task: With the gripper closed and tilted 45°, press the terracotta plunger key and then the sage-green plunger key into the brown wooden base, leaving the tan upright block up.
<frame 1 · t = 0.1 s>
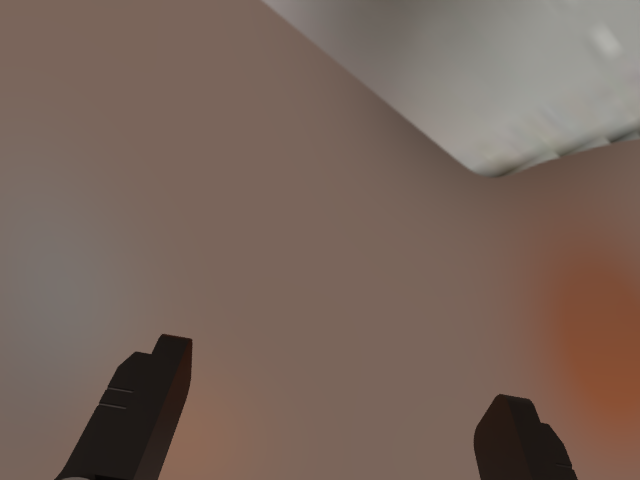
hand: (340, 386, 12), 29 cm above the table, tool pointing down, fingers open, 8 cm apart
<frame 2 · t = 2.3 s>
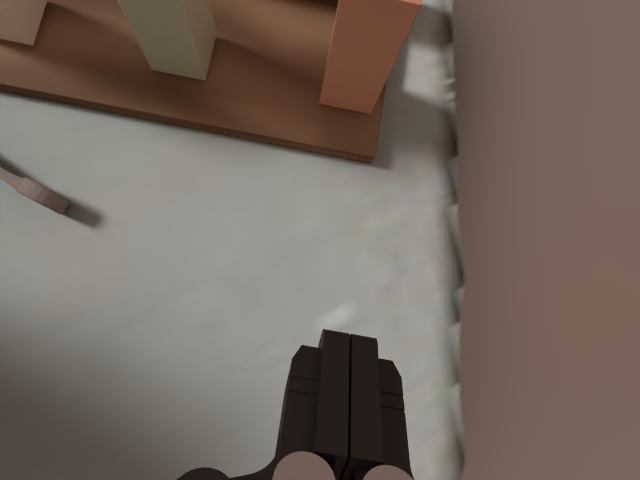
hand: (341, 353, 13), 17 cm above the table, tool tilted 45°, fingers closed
brown wooden base: (189, 64, 32), on the table
terracotta key: (364, 36, 26), point 7 cm above the table, slide at 0.0 cm
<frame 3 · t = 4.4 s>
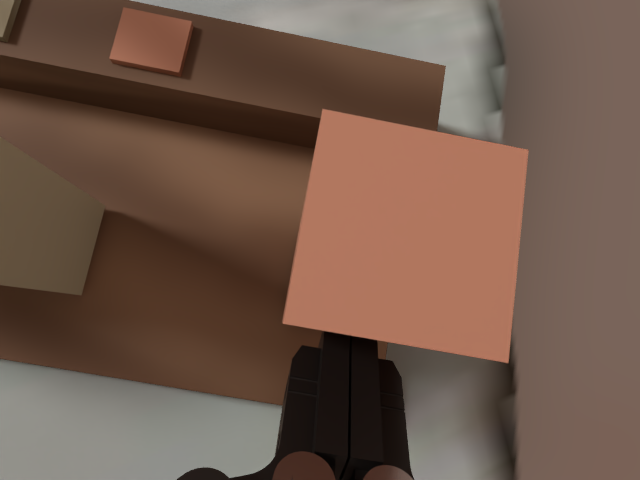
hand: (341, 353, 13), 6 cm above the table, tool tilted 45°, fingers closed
brown wooden base: (66, 247, 19), on the table
terracotta key: (356, 269, 13), point 7 cm above the table, slide at 0.3 cm, touching gripper
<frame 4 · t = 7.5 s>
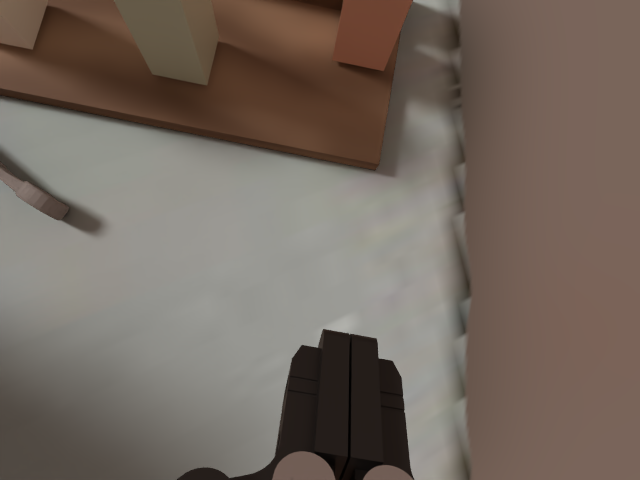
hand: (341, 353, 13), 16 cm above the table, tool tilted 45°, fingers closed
brown wooden base: (190, 68, 31), on the table
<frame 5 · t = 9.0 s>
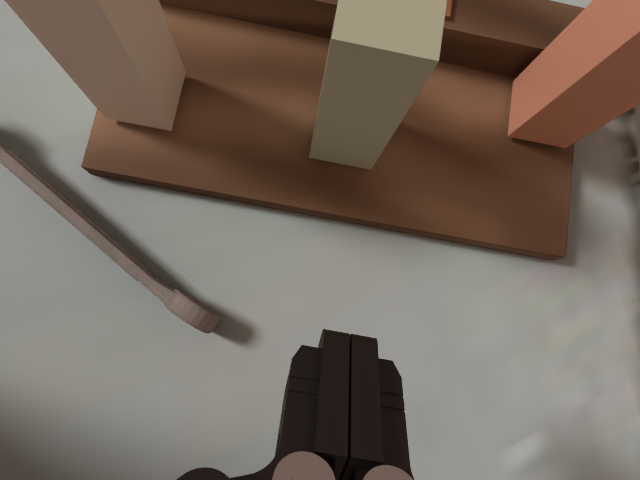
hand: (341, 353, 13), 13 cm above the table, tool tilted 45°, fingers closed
brown wooden base: (341, 144, 27), on the table
terracotta key: (603, 63, 22), point 7 cm above the table, slide at 3.5 cm
tan upright block: (110, 33, 20), point 7 cm above the table, slide at 0.0 cm
combination wrench: (82, 211, 26), on the table
sage key: (362, 85, 20), point 7 cm above the table, slide at 0.0 cm
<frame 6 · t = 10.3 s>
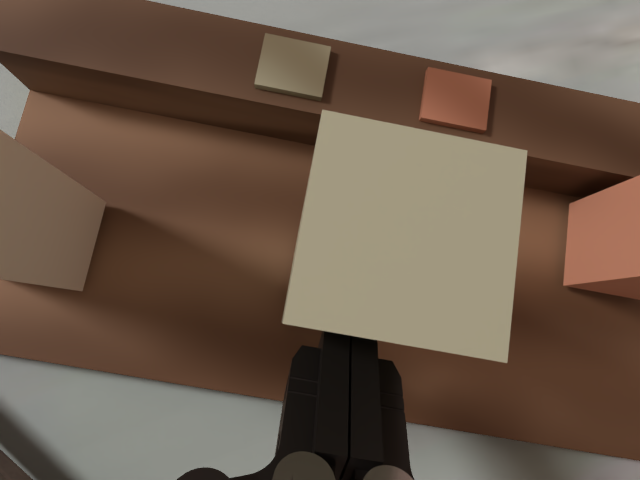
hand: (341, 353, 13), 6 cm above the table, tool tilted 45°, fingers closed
brown wooden base: (329, 291, 20), on the table
sage key: (356, 269, 13), point 7 cm above the table, slide at 0.2 cm, touching gripper
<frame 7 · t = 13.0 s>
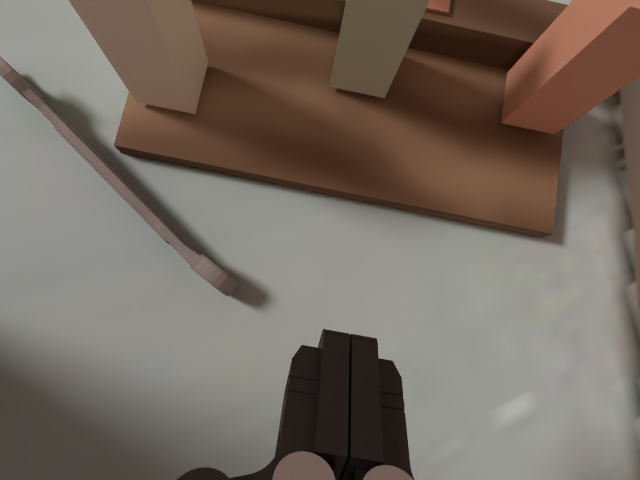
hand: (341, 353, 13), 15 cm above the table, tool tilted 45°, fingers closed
brown wooden base: (348, 129, 30), on the table
terracotta key: (586, 54, 24), point 7 cm above the table, slide at 3.5 cm
tan upright block: (146, 24, 22), point 7 cm above the table, slide at 0.0 cm
combination wrench: (122, 179, 29), on the table
sage key: (379, 8, 24), point 7 cm above the table, slide at 3.5 cm
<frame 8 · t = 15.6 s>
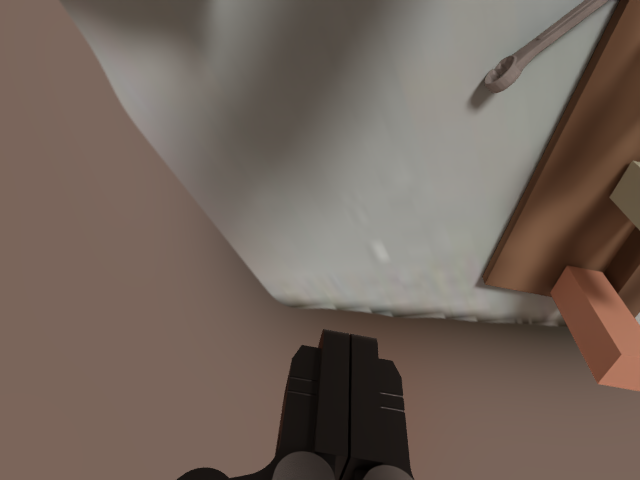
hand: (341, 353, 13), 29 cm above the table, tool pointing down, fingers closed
brown wooden base: (592, 167, 40), on the table
terracotta key: (600, 322, 41), point 7 cm above the table, slide at 3.5 cm
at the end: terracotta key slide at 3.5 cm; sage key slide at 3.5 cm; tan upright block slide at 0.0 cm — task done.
